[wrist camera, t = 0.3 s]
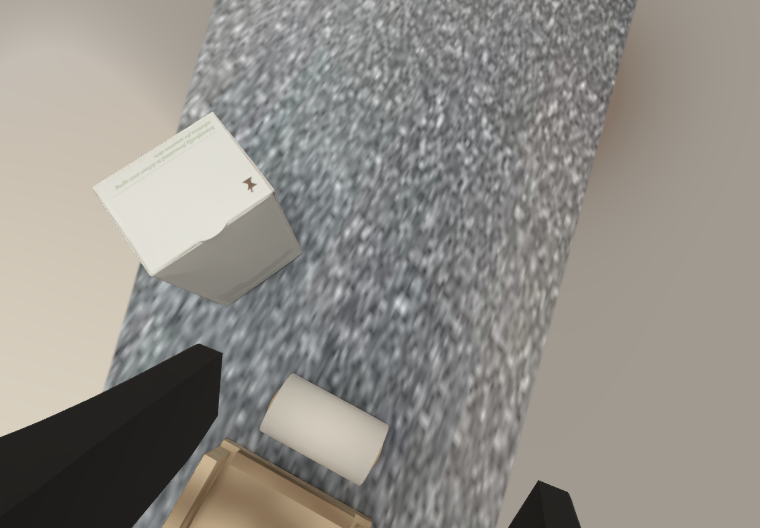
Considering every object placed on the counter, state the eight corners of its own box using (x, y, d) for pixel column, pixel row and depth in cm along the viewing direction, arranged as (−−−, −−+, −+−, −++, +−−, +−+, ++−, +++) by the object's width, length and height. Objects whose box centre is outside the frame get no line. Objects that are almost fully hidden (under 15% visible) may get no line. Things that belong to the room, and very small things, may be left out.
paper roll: (389, 423, 39) (394, 430, 35) (361, 480, 38) (363, 495, 34) (293, 371, 40) (285, 370, 35) (262, 425, 39) (250, 432, 34)
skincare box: (264, 198, 43) (216, 102, 28) (307, 256, 42) (282, 190, 27) (182, 252, 41) (84, 181, 26) (225, 314, 40) (148, 277, 25)
